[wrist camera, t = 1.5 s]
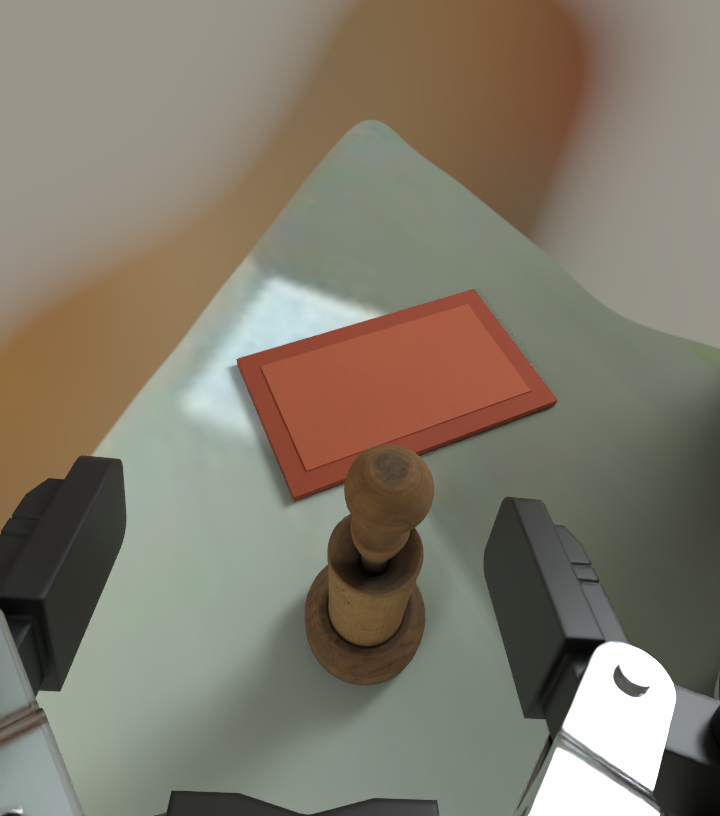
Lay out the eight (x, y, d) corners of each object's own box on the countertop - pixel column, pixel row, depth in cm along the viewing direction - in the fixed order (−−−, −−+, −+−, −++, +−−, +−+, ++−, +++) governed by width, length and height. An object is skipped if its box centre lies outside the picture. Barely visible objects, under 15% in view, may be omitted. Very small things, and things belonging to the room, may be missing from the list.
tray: (472, 294, 49) (474, 287, 49) (555, 405, 43) (558, 399, 43) (237, 363, 44) (236, 357, 43) (294, 501, 38) (293, 496, 37)
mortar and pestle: (283, 605, 34) (251, 441, 19) (375, 545, 36) (409, 357, 22) (348, 712, 31) (370, 615, 16) (444, 639, 33) (539, 496, 19)
